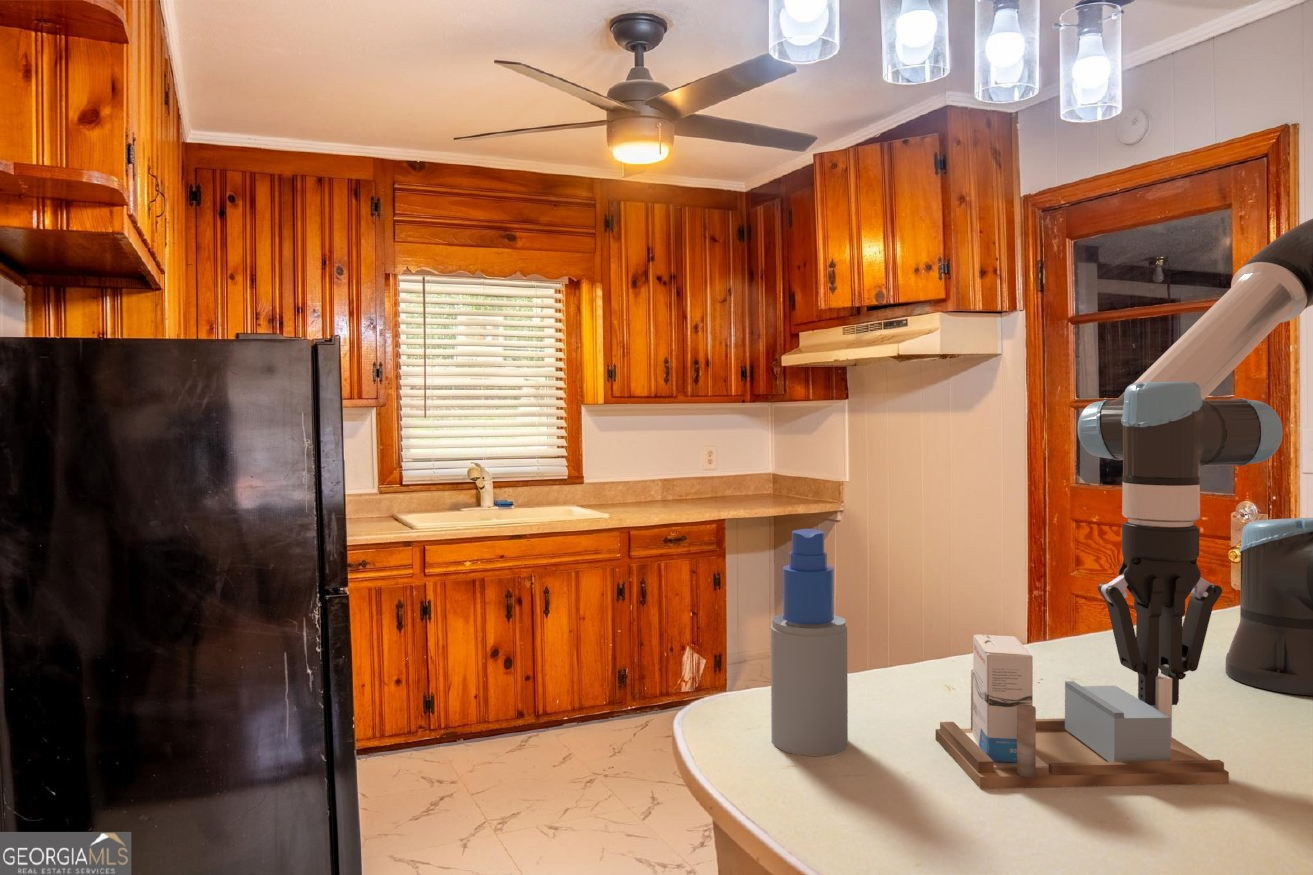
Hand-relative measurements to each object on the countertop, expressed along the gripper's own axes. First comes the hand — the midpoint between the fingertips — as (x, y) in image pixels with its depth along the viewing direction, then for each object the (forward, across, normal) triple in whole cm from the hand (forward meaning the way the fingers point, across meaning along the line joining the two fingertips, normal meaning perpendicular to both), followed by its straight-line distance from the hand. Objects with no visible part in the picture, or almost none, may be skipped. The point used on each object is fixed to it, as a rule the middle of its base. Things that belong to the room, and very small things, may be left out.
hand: (1157, 733), depth 101 cm
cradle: (+3, +10, 0) cm, 10 cm away
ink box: (+2, +18, 0) cm, 18 cm away
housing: (+1, +5, 0) cm, 5 cm away
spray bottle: (+3, +38, -7) cm, 38 cm away
